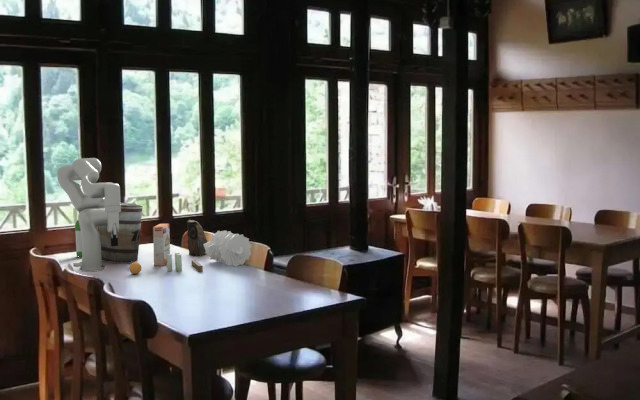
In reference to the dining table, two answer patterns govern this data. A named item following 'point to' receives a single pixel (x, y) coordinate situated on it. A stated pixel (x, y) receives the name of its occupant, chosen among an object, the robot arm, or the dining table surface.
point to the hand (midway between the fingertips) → (114, 245)
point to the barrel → (123, 236)
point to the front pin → (169, 262)
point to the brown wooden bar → (197, 265)
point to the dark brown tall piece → (196, 239)
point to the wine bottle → (78, 239)
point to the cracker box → (161, 244)
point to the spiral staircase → (228, 248)
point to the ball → (135, 268)
